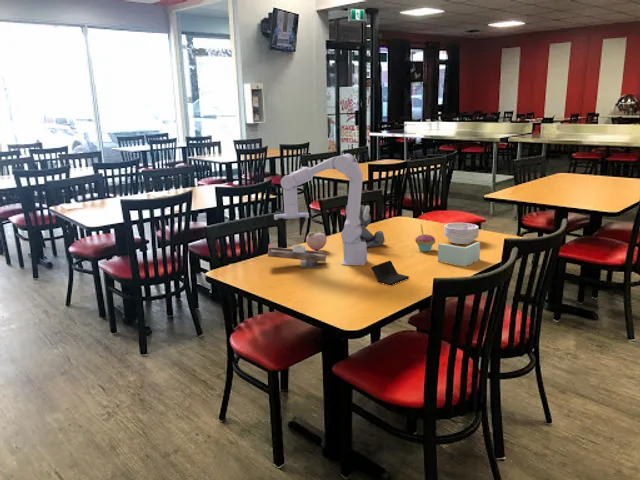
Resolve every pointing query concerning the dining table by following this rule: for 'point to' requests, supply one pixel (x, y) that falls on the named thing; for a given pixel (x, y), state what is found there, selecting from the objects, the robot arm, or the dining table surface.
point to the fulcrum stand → (309, 263)
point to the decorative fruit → (316, 240)
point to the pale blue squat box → (459, 254)
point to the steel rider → (298, 249)
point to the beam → (295, 254)
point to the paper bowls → (461, 232)
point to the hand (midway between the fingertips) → (292, 235)
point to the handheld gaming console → (387, 273)
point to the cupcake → (425, 241)
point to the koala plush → (366, 235)
